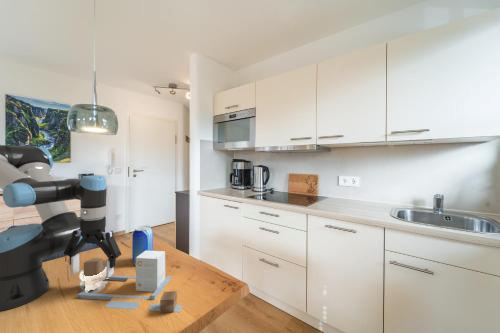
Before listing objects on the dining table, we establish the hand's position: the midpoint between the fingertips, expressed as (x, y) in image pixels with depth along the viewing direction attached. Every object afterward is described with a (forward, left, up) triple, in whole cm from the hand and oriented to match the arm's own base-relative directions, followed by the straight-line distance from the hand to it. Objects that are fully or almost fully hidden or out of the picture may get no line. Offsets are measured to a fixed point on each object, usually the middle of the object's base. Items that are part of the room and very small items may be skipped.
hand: (92, 274), depth 77 cm
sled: (+14, 0, -5) cm, 14 cm away
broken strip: (+26, -10, -5) cm, 28 cm away
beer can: (+8, +20, -5) cm, 22 cm away
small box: (+22, +1, -5) cm, 22 cm away
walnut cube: (+34, -10, -3) cm, 35 cm away
